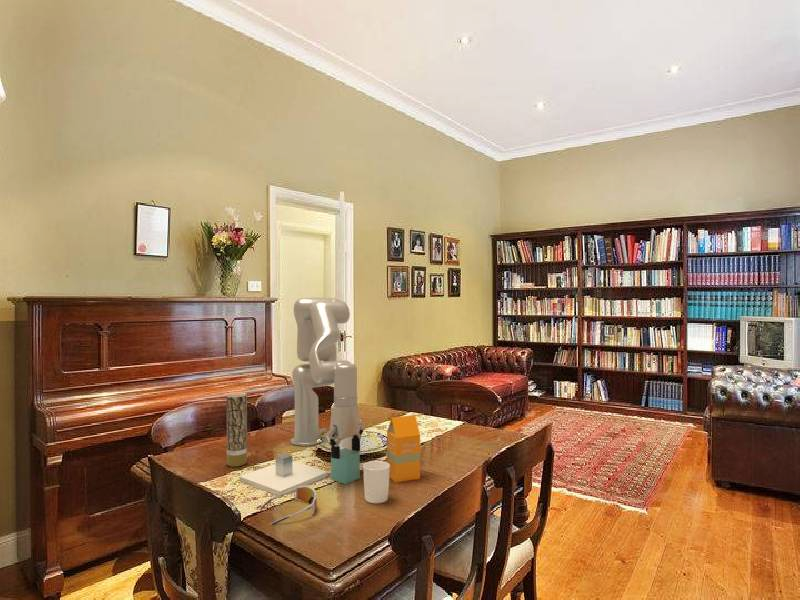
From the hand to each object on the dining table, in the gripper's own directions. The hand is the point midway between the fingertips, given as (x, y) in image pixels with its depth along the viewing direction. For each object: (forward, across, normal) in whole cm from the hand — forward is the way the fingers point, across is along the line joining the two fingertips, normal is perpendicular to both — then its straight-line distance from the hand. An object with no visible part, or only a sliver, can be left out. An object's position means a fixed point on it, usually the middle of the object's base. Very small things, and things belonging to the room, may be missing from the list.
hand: (345, 454), depth 160 cm
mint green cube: (+8, 0, -1) cm, 8 cm away
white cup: (+9, +6, +17) cm, 20 cm away
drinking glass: (+8, -14, -11) cm, 20 cm away
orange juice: (+8, -13, +13) cm, 21 cm away
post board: (+8, +12, -17) cm, 22 cm away
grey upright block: (+6, +12, -17) cm, 21 cm away
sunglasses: (+9, +26, +3) cm, 28 cm away
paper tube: (+8, +13, -41) cm, 43 cm away
